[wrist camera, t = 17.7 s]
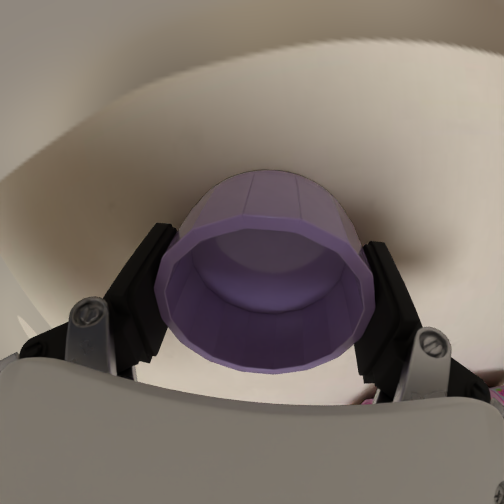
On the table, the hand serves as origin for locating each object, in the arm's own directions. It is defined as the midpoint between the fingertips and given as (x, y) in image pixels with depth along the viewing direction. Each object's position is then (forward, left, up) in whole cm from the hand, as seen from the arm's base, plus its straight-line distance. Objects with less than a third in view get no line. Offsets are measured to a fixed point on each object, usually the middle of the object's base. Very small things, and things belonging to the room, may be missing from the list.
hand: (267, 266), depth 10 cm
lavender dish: (0, 0, -1) cm, 1 cm away
